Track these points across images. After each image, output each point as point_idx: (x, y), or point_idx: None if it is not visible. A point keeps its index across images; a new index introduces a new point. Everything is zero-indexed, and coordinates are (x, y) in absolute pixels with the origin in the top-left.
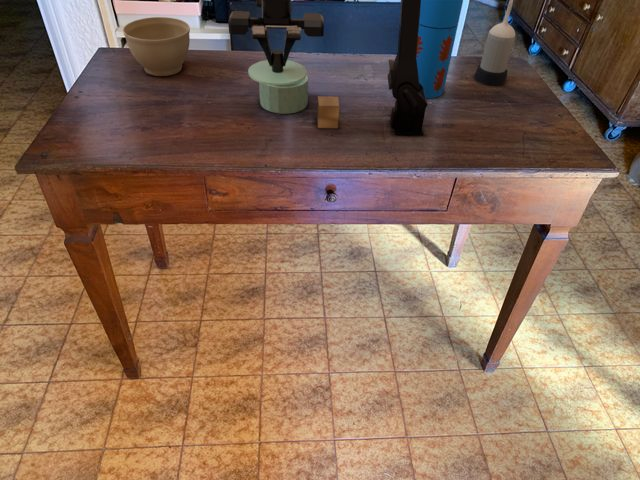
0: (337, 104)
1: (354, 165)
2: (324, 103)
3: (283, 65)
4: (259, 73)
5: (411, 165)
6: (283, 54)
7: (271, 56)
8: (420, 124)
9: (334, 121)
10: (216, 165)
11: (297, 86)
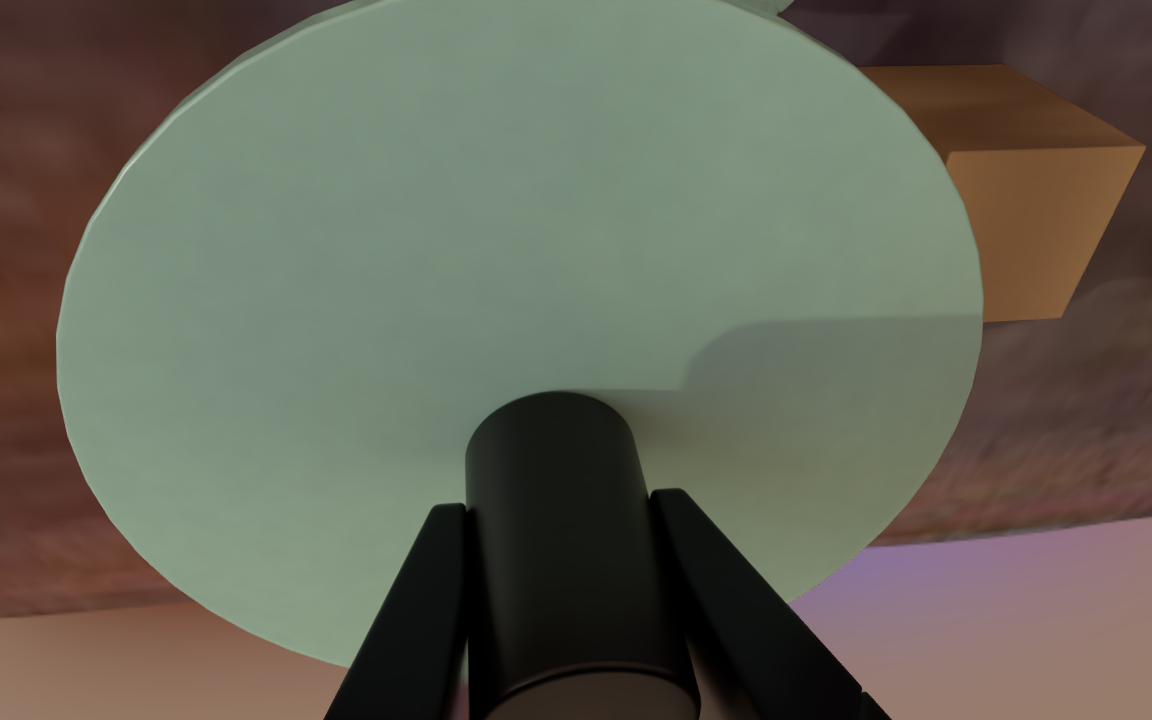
0: (1057, 301)
1: (887, 529)
2: None
3: None
4: (297, 542)
5: (1139, 504)
6: (700, 633)
7: (464, 647)
8: None
9: None
10: None
11: (777, 10)
